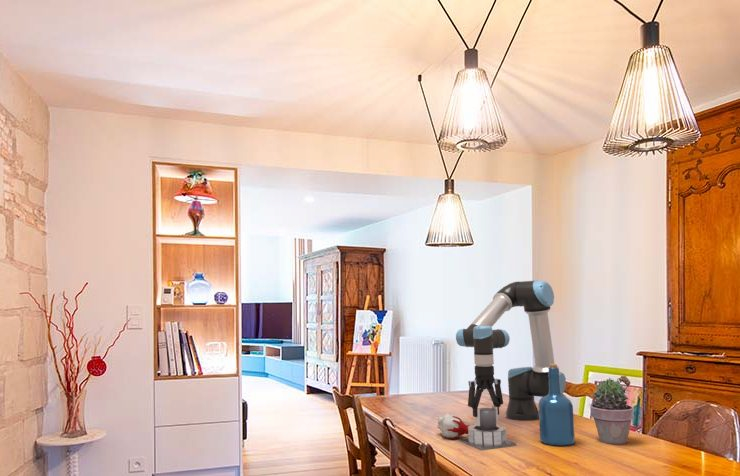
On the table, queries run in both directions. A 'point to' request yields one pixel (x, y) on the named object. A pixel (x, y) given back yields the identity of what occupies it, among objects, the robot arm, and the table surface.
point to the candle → (452, 426)
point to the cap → (487, 417)
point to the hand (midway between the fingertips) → (486, 424)
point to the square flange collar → (487, 437)
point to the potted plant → (612, 411)
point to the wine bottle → (556, 414)
